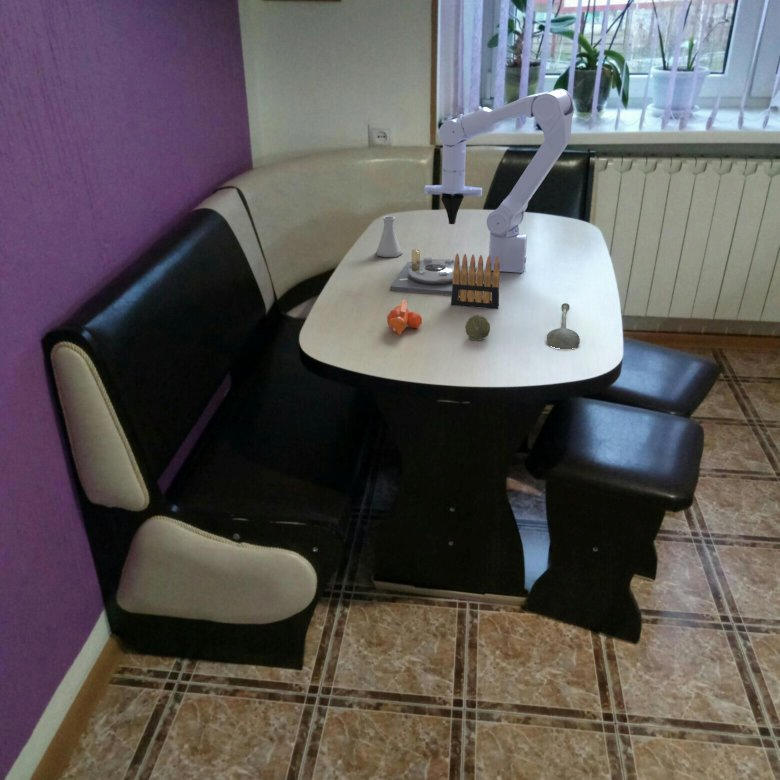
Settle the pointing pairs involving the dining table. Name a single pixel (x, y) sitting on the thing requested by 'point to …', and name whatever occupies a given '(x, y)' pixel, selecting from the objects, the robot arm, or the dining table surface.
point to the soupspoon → (563, 334)
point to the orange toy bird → (403, 318)
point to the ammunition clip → (476, 284)
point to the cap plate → (420, 284)
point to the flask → (388, 240)
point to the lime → (477, 327)
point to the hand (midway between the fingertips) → (452, 223)
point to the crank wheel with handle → (431, 270)
